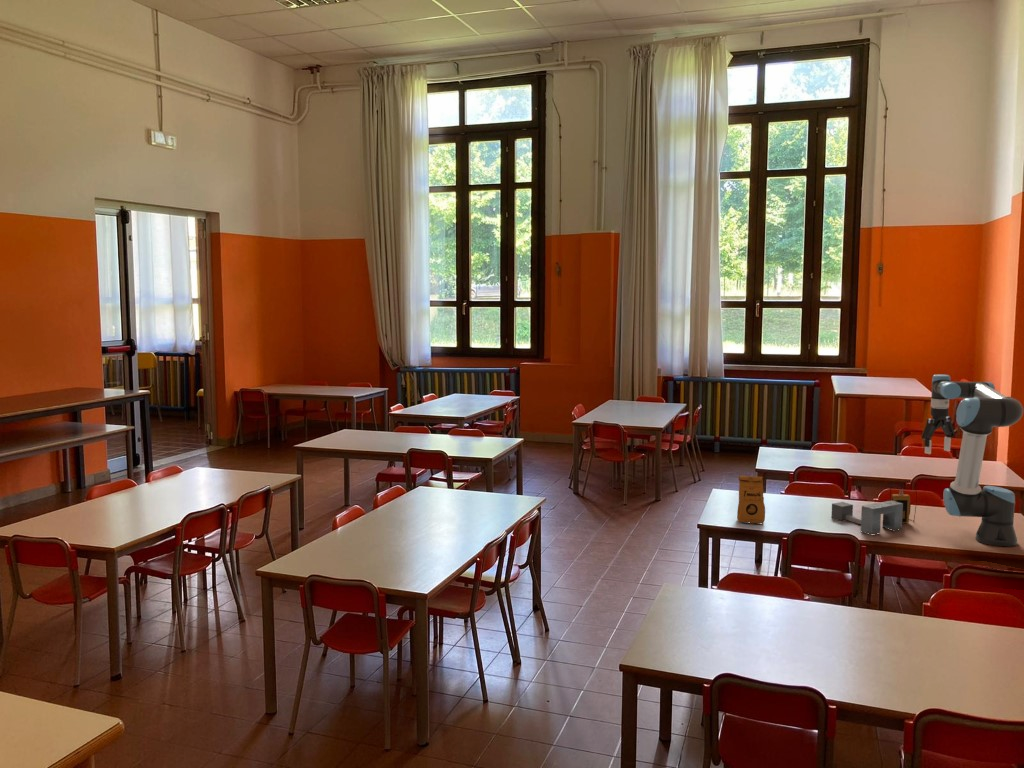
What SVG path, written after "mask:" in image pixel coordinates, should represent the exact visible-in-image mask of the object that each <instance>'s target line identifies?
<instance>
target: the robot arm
mask: <svg viewBox="0 0 1024 768" xmlns="http://www.w3.org/2000/svg"><path fill="white" fill-rule="evenodd" d="M951 379H952V378H951V376H950V375H949V374H933V376H932V379H931V397H930V416H931V417H932V418H927V419H926V424H925V426H924V427H925V428H924V430H923V432H922V435H921V439H922V440H924V454H928V455H931V454H932V440H931V439H932V437H933V436H934V434H935V432H936V431H937V429H939V428H941V430H942V432H943V433H944V435H945V436H944V441H943V451H945V452H951V444H952V439H953V438H954V436H955V435H956V433H955V431H954V430H955V429H954V427H953V423H952V417H951V416H949V413H950V412H949V411H950V409H949V408H950V400H955V399H962V400H960V402H959V403H958V406H957V409H956V412H955V415H956V417H955V420H956V424H957V425H958V426H959V429H961V431H962V436H961V437H962V438H961V445H960V450H959V457H958V462H957V466H956V467H957V468H956V472H955V479H954V481H952V482H950V485H949V488H948V487H947V488H944V489H943V499H942V500H943V505H944V507H945V510H946V512H947V513H948V515H950V516H953V517H959V518H960V517H964V518H965V517H967V518H968V517H970V518H981V522H980V524H979V526H978V529H977V531H976V533H975V540H976V541H977V542H979V543H982V544H985V545H988V544H989V545H988V546H993V545H995V546H994V547H1001V546H1011V547H1016V546H1017V544H1018V537H1017V534H1016V533H1017V532H1016V531H1015V528H1014V520H1015V519H1014V518H1015V507H1016V506H1015V505H1016V496H1015V495H1016V494H1015V493H1014V492H1013V491H1012V490H1009V489H1007V488H1003V487H999V486H995V485H994V486H993V485H985V486H983V488H981V486H980V485H979V482H980V477H981V476H980V475H981V470H982V466H983V460H984V456H985V455H984V454H985V451H986V450H985V448H986V443H987V436H989V435H990V434H992V433H993V428H997V427H998V428H1000V427H1001V428H1003V427H1006V428H1007V427H1011V426H1013V425H1014V424H1017V423H1018V422H1019V421H1020V420H1021V419H1022V417H1023V415H1024V407H1023V404H1022V403H1021V402H1020V400H1018V399H1016V398H1015V397H1012V396H1006V395H1004V394H1003V393H1001V392H1000V391H998V390H996V388H995V385H994V383H993V382H991V381H990V382H988V381H951ZM1015 545H1016V546H1015Z"/></svg>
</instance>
